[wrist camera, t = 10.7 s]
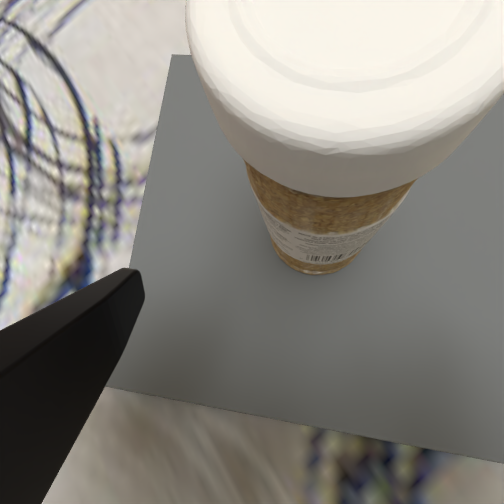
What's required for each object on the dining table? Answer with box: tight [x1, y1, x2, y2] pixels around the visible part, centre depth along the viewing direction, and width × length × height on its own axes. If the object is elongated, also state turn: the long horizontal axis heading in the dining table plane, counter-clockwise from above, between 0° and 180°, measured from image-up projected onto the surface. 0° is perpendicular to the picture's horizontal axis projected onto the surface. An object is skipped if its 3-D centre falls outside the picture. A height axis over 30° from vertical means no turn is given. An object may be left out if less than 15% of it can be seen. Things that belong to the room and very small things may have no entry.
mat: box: [106, 54, 504, 464], centre depth 18 cm, size 18×18×1 cm
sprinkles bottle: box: [185, 0, 504, 275], centre depth 11 cm, size 5×5×14 cm
